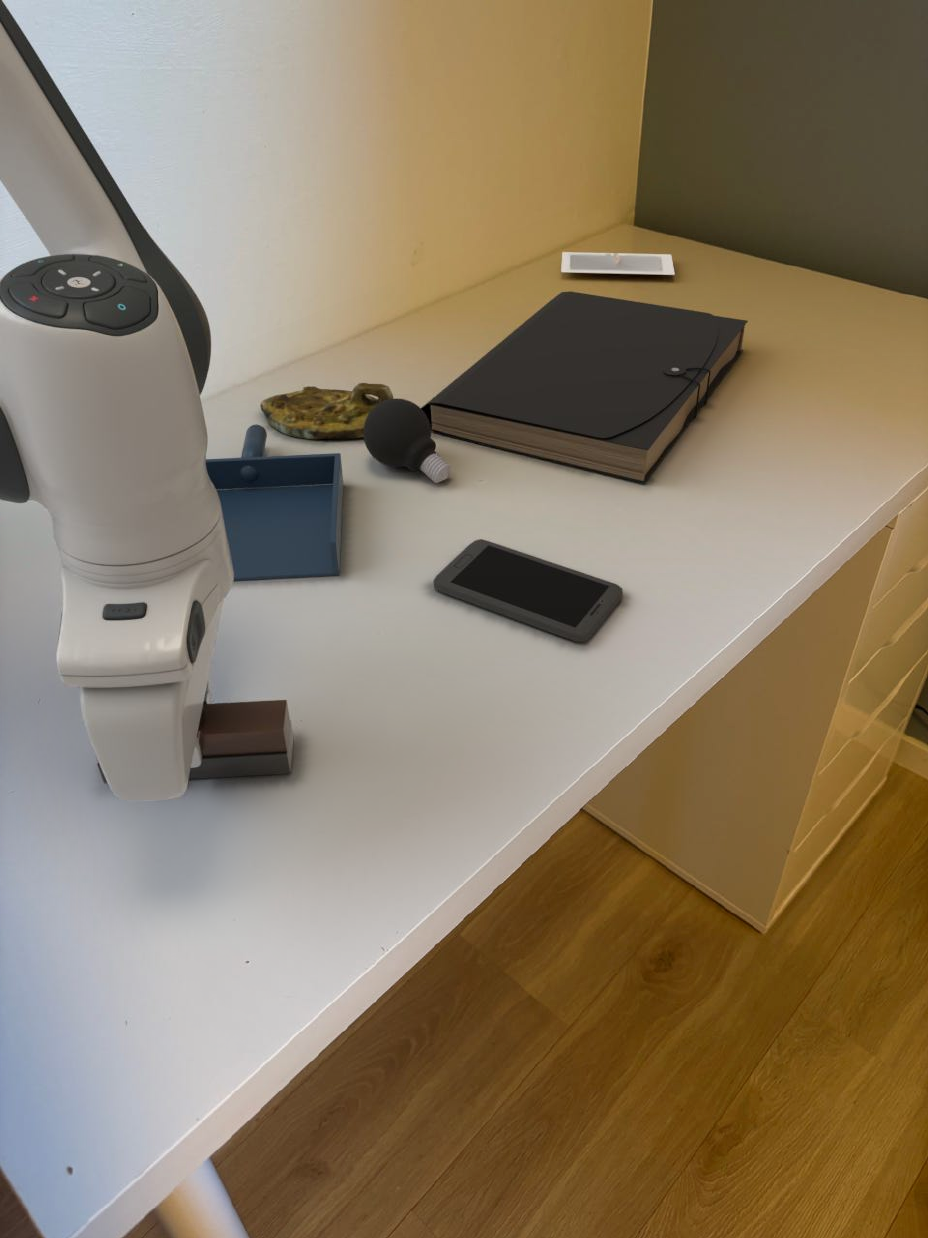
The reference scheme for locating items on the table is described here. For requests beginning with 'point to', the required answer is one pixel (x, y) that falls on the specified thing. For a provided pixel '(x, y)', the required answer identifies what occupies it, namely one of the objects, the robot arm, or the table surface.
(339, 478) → the dustpan
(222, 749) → the wiper
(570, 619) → the cell phone
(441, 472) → the light bulb
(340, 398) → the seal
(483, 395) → the black leather journal
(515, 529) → the table surface
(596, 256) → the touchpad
